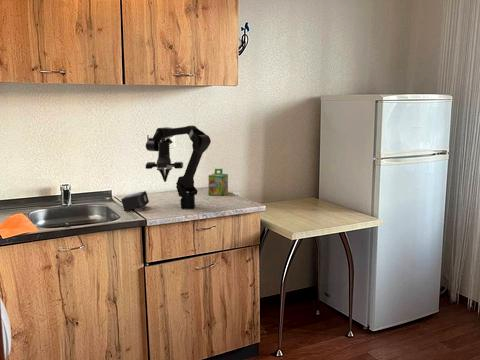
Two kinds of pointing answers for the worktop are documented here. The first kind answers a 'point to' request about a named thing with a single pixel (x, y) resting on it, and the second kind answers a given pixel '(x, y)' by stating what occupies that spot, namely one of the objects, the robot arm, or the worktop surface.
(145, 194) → the small box
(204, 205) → the worktop surface
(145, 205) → the stop strip
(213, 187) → the chalk box
